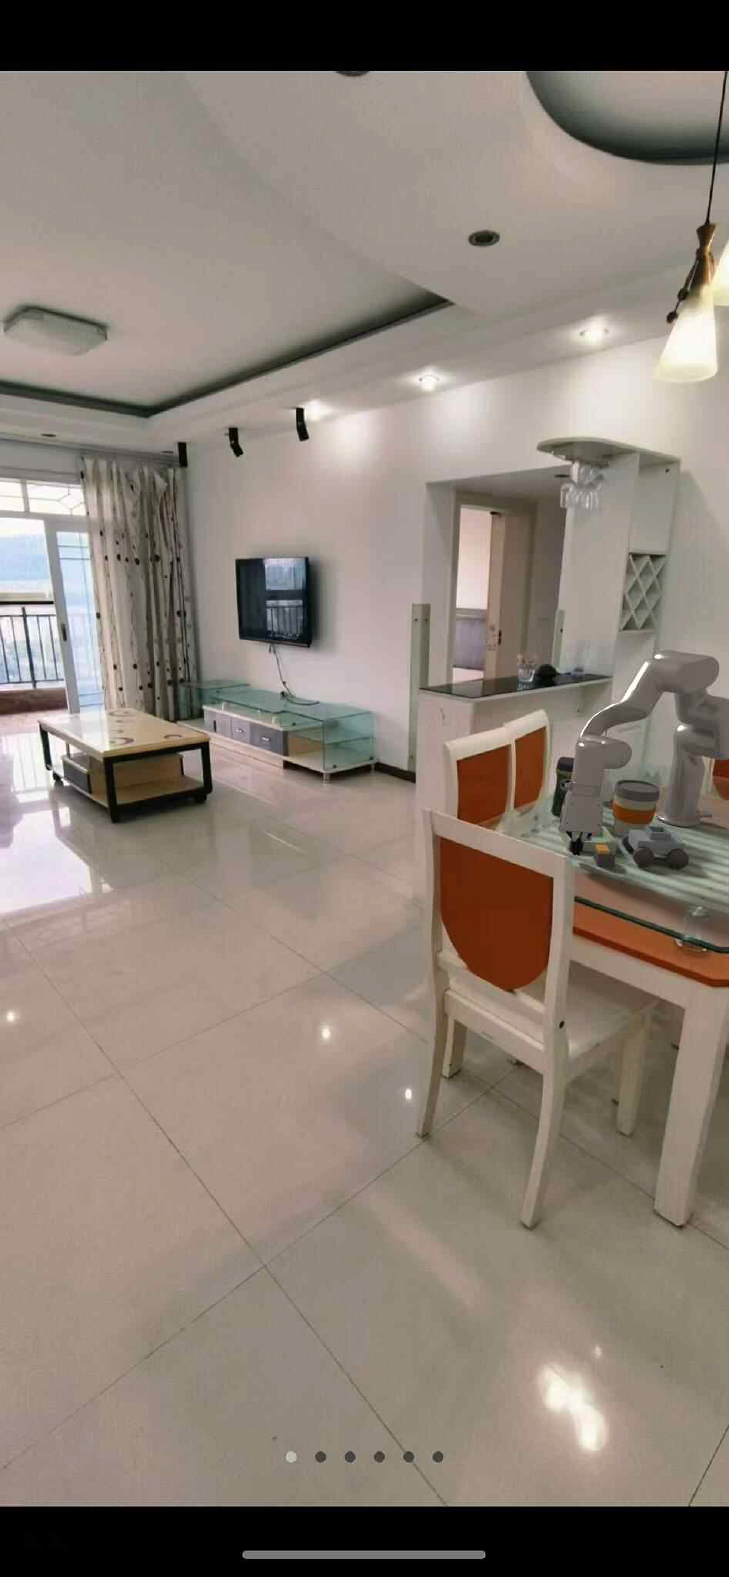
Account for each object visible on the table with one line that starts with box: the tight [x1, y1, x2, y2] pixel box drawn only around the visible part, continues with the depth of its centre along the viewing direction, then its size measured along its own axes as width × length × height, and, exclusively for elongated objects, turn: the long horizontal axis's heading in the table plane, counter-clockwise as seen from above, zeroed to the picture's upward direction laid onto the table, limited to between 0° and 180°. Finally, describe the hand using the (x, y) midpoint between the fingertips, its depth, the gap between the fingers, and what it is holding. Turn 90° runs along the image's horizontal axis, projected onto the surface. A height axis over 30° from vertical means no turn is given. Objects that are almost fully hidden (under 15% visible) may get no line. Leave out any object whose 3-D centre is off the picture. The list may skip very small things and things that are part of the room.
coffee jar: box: [550, 756, 575, 817], centre depth 210 cm, size 10×8×19 cm
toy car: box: [621, 825, 690, 870], centre depth 180 cm, size 14×12×8 cm
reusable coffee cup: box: [612, 779, 661, 838], centre depth 196 cm, size 13×13×15 cm
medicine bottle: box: [600, 769, 614, 803], centre depth 225 cm, size 7×7×12 cm
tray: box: [558, 825, 618, 854], centre depth 190 cm, size 13×13×3 cm
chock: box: [592, 844, 617, 868], centre depth 177 cm, size 4×4×4 cm
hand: (575, 853), depth 177 cm, fingers closed
